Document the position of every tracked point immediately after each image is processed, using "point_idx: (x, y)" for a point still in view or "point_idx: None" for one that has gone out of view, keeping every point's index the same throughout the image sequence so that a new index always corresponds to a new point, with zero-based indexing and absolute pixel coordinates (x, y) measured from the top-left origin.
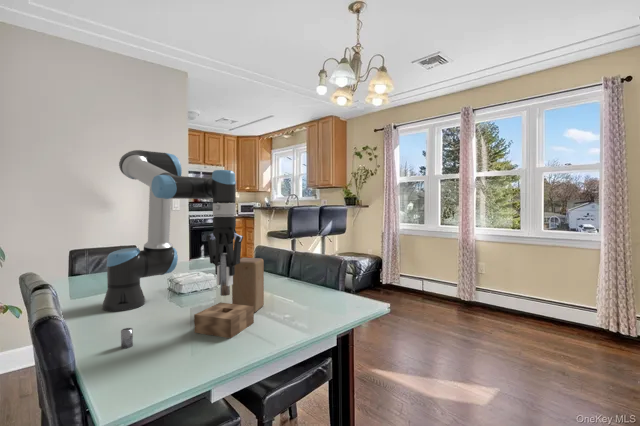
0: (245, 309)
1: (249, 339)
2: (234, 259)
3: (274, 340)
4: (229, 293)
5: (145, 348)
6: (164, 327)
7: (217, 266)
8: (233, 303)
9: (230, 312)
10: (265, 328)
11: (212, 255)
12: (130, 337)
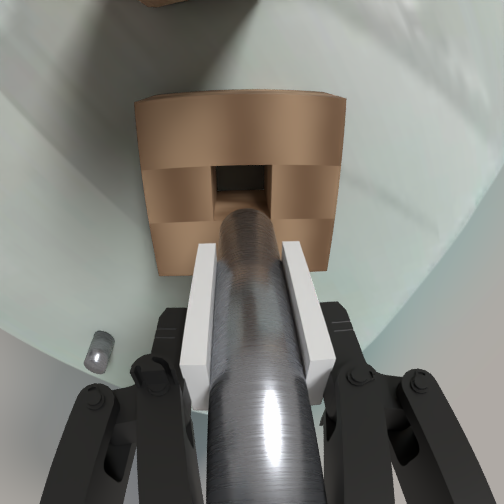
0: (330, 153)
1: (368, 224)
2: (403, 452)
3: (431, 209)
4: (273, 227)
5: (146, 336)
6: (60, 240)
7: (198, 407)
8: (148, 2)
9: (283, 209)
10: (385, 131)
11: (123, 493)
12: (108, 355)
